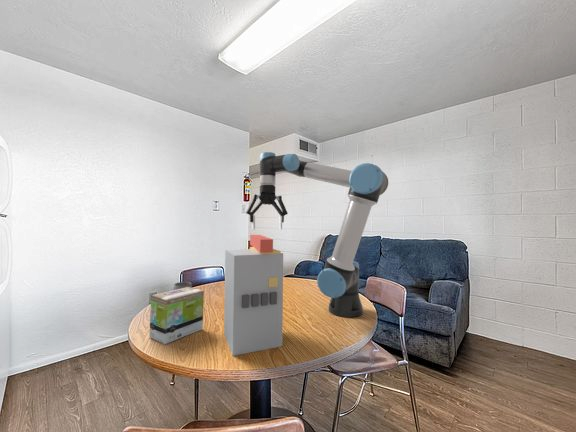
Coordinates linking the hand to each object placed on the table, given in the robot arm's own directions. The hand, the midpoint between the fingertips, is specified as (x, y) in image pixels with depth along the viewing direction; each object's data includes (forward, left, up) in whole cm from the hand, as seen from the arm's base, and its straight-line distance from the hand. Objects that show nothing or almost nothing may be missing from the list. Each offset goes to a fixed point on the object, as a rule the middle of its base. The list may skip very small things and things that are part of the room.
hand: (267, 229), depth 123 cm
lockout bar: (-11, +27, -6) cm, 30 cm away
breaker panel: (-11, +33, -37) cm, 51 cm away
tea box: (+16, +39, -37) cm, 56 cm away
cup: (+38, +14, -37) cm, 55 cm away
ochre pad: (-14, +30, -7) cm, 34 cm away
